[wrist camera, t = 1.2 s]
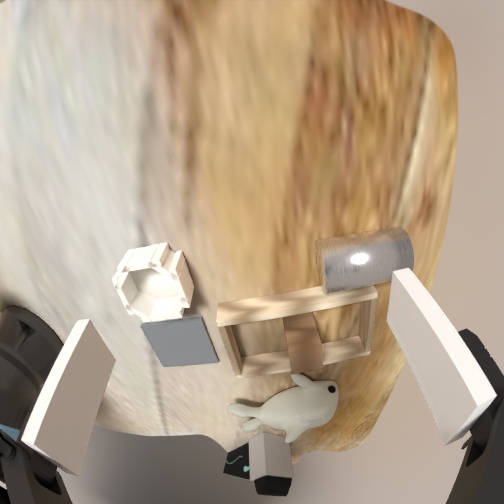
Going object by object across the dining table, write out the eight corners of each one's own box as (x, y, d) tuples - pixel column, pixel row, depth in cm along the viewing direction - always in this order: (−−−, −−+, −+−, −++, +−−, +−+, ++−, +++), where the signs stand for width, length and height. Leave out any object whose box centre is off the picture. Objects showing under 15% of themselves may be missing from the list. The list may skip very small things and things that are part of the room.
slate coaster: (164, 364, 43) (163, 367, 42) (141, 323, 39) (140, 326, 38) (218, 359, 42) (218, 362, 42) (201, 316, 38) (201, 319, 38)
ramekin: (141, 304, 37) (133, 324, 33) (117, 251, 33) (105, 268, 30) (198, 295, 36) (194, 317, 33) (179, 238, 33) (172, 256, 29)
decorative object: (220, 454, 62) (219, 503, 49) (263, 431, 56) (267, 491, 42) (246, 459, 65) (248, 507, 52) (290, 437, 58) (297, 493, 45)
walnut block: (285, 336, 40) (291, 374, 34) (282, 315, 39) (288, 354, 32) (313, 331, 40) (323, 368, 34) (311, 310, 38) (322, 348, 32)
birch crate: (237, 360, 43) (237, 378, 40) (217, 303, 37) (216, 321, 34) (363, 337, 42) (370, 354, 39) (367, 276, 36) (377, 292, 33)
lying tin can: (316, 275, 36) (328, 305, 30) (313, 231, 33) (326, 258, 28) (390, 260, 35) (410, 287, 30) (392, 218, 32) (416, 240, 27)
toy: (337, 406, 52) (347, 447, 43) (247, 424, 54) (248, 465, 45) (334, 357, 44) (349, 408, 35) (220, 380, 45) (218, 431, 37)
